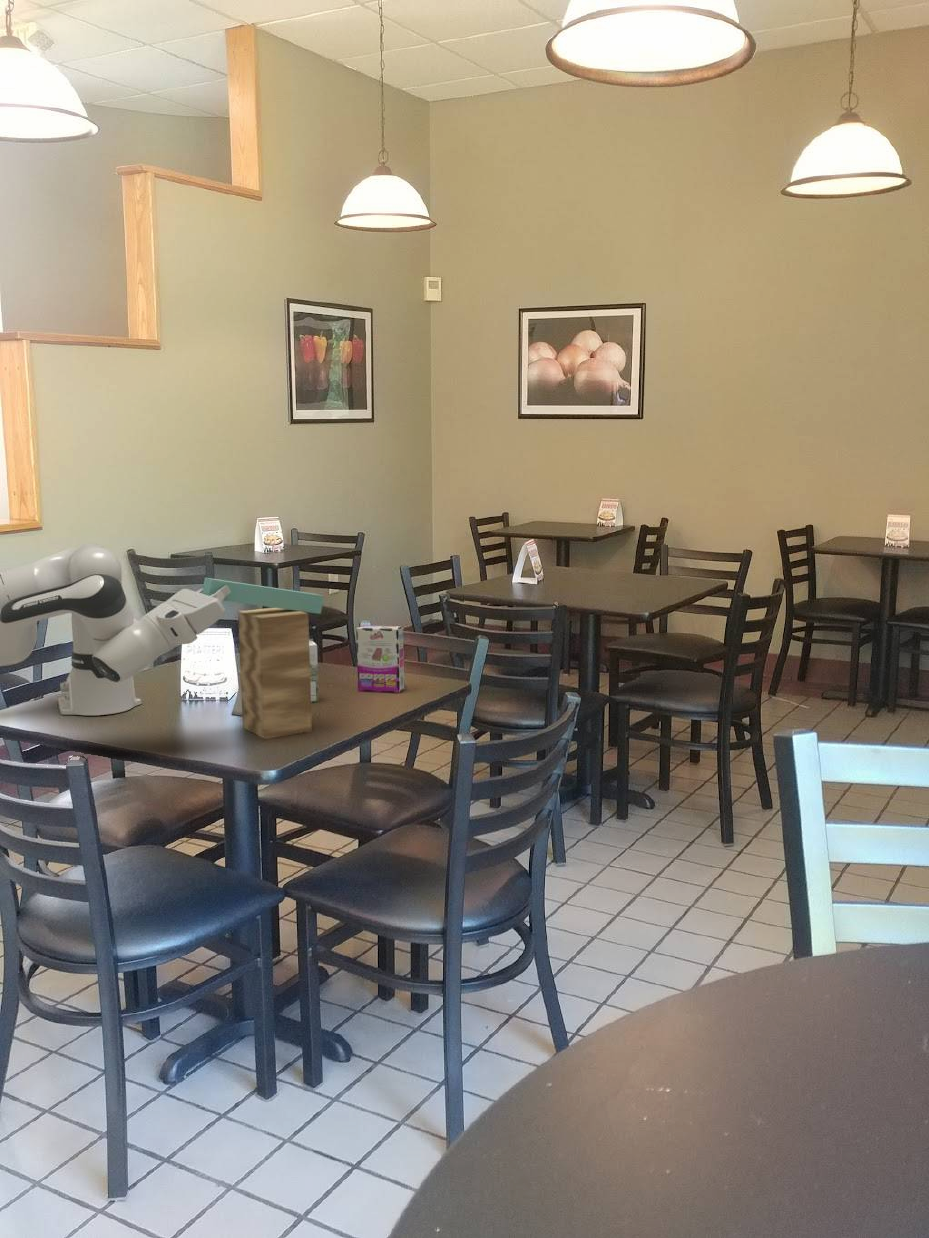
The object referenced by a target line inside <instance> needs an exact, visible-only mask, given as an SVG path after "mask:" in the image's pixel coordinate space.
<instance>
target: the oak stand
mask: <svg viewBox="0 0 929 1238" xmlns="http://www.w3.org/2000/svg"><path fill="white" fill-rule="evenodd" d="M237 615H238V640H239V643H238V644H239V663H240V664H239V666H240V668H239V670H240V669H241V694H242V715H241V716H242V718H241V719H242V728H244V729H245V730H247V731H248V732H251V733H253V734H255V735H256V736H258V737H260V738H262V739H265V740H267V739H274V738H279V737H287V736H292V735H298V733H299V734H304V733H303V732H305V733H311V732H313V729H312V728H313V725H312V702H311V687H310V653H309V640H310V630H309V629H310V627H309V624H310V623H309V612H303V611H296V610H289V609H281V608H274V607H266V608H256V609H246V610H238V612H237Z"/></svg>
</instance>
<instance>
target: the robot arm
mask: <svg viewBox="0 0 929 1238" xmlns="http://www.w3.org/2000/svg"><path fill="white" fill-rule="evenodd" d="M122 575H123V573H122V564H121V562H120V560H119V558H118V557H117V556H116V555H115V553H113V551H111V550H109V549H107V548H106V547H104V546H103V545H100V544H98V543H94V542H86V543H85V542H84V543H82V544H79V545H76V546H73V547H70V548H67V549H64V550H62V551H59V552H56V553H53V554H51V555H48V556H46V557H43V558H41V559H38V560H35V561H32V562H29V563H25V564H21V565H18V566H15V567H12V568H9V569H7V570H6V569H5V570H2V571H0V667H4V666H5V667H7V666H13V665H16V664H19V663H21V662H24V661H25V660H26V659H28V657H29V656H30V655H31V654H32V652H33V651H34V649H35V646H36V643H37V639H38V633H39V632H38V630H39V629H38V622H39V621H43V620H47V619H51V618H53V617H58V616H61V615H66V614H71V618H70V619H71V631H72V633H71V634H72V649H73V650H72V652H71V658H70V661H71V665H70V666H72V668H71V669H70V672H69V673H68V676H67V677H66V681H63V682H60V683H59V685H60V686H59V688H60V692H61V693H64V696H61V697H58V699H57V700H58V701H57V703H58V708H59V713H60V715H64V716H65V715H69V716H71V715H75V716H76V715H77V716H78V715H79V716H101V715H102V716H104V715H106V716H107V715H112V714H119V713H124V712H126V711H129V710H131V709H133V708H134V707H136V706H139V705H142V703H143V702H142V699H141V698H138V697H136V692H135V685H134V684H135V683H134V676H136V675H137V674H139V673H140V672H142V671H144V670H145V669H146V668H148V667H149V666H151V665H152V664H153V663H154V662H155V661H156V660H157V659H158V657H160V656H161V655H163V654H166V653H168V652H171V651H172V650H173V649H174V648H176V647H179V646H181V645H189V644H192V643H193V642H194V641H195V642H196V640H198V636H197V635H200V634H202V633H204V632H205V631H206V630H208V629H209V628H210V627H211V626H213V625H214V624H215V623H216V622H218V621H219V620H220V619H221V618H223V616H224V615H225V613H226V609H225V607H224V605H223V604H222V602H223V599H224V598H225V596H227V595H228V594H230V593H231V590H230V588H229V587H228V586H226V585H223V586H222V587H220V588H219V589H218V591H217V592H216V593H215V594H212V595H210V596H208V595H205V594H202V592H203V587H202V588H200V589H198V590H196V591H195V590H192V589H188V588H183V589H180V590H179V591H176V593H175V594H173V595H172V596H171V597H169V598H168V599H167V600H165V601H164V602H161V604H159V605H157V606H156V607H155V608H153V609H151V610H150V611H148V612H147V613H146V614H144V615H143V616H141V617H140V619H139V620H138V619H137V617H136V615H135V612H134V611H133V609H132V607H131V605H130V603H129V601H128V599H127V597H126V594H125V591H124V589H123V580H122Z"/></svg>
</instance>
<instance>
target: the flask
mask: <svg viewBox="0 0 929 1238" xmlns="http://www.w3.org/2000/svg"><path fill="white" fill-rule="evenodd" d="M238 674H239V685H238V691H237V694H236V697H235V700H234V704H233V707H232V710H231V715H237V716H242V694H241V670H240V669H239V670H238Z"/></svg>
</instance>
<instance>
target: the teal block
mask: <svg viewBox="0 0 929 1238" xmlns="http://www.w3.org/2000/svg"><path fill="white" fill-rule="evenodd" d="M223 585H226V586H228V587H229V588H230V590H231V593H230V594H228V595H227V596H225V598H224V599H223V600H222V602H230V603H238V604H245V605H246V604H247V605H252V606H253V605H254V606H262V607H266V608H281V609H289V610H296V611H302V612H305V613H311V614H317V615H319V614H320V615H321V614H322V609H323V603H324V597H325V596H324V595H322V594H317V593H312V592H307V591H306V592H305V591H298V590H292V589H285V588H278V587H271V586H263V585H258V584H250V583H244V582H238V581H237V582H236V581H231V580H225V579H224V580H223V579H217V578H211V577H204V582H203V587H202V588H203V592H202V594H205V595H208V596H210V595H212V594H215V593H216V592H217V591H218V589H219V588H220V587H222V586H223Z"/></svg>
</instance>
